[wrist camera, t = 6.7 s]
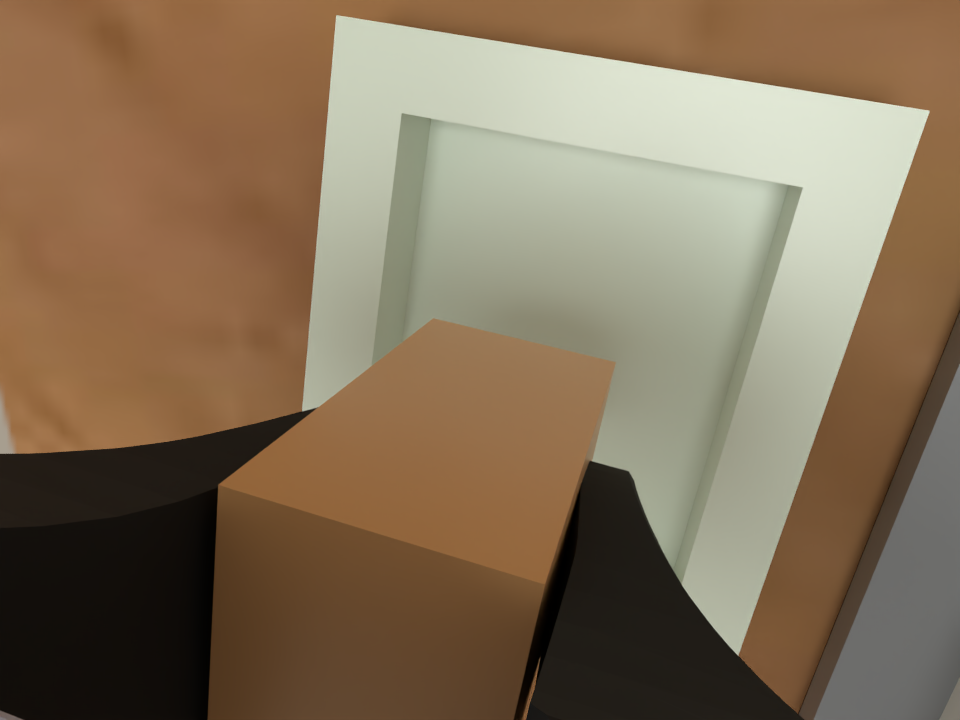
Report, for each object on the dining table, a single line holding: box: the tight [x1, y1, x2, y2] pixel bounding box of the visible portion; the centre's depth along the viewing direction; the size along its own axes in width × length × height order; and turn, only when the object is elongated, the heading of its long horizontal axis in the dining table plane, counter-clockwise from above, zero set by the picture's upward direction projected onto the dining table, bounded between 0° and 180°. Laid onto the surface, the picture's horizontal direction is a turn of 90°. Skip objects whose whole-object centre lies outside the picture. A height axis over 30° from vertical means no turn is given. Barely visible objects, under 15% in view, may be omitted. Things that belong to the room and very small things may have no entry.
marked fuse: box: [208, 318, 616, 720], centre depth 10 cm, size 4×3×6 cm
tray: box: [302, 15, 930, 655], centre depth 17 cm, size 13×11×2 cm
